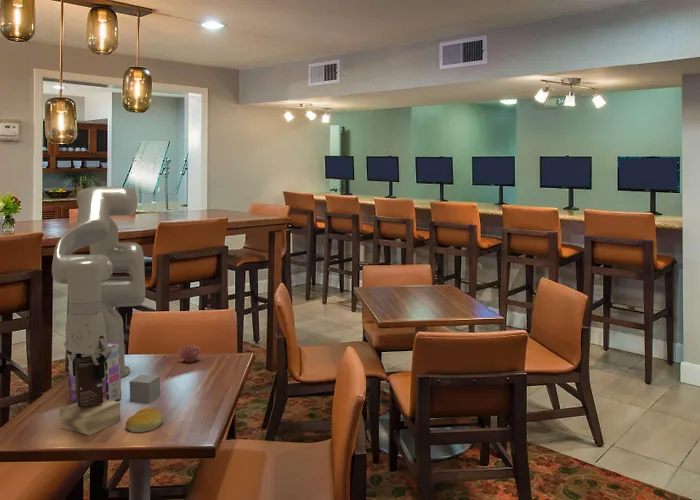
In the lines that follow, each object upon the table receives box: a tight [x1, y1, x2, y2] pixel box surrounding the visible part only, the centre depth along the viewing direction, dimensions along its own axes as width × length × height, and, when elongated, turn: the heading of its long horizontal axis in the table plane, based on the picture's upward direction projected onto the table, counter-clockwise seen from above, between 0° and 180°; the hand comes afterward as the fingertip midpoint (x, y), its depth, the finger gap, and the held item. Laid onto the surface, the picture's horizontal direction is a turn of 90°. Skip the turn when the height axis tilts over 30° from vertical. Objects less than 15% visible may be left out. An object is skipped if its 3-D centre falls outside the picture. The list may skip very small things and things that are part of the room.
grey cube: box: [128, 374, 161, 404], centre depth 173 cm, size 6×6×6 cm
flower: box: [177, 344, 202, 363], centre depth 208 cm, size 8×8×6 cm
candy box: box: [66, 343, 122, 402], centre depth 172 cm, size 14×6×16 cm, turn 71°
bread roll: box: [125, 408, 164, 433], centre depth 154 cm, size 8×9×4 cm
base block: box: [59, 399, 122, 436], centre depth 155 cm, size 10×10×5 cm
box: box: [74, 355, 103, 407], centre depth 154 cm, size 6×4×12 cm
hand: (89, 376), depth 154 cm, fingers closed on box, 6 cm apart
